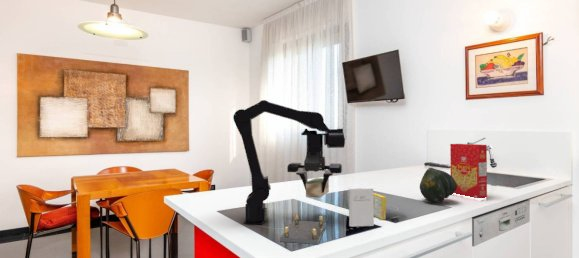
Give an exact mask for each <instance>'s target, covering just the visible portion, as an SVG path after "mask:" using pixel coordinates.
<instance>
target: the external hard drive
mask: <svg viewBox="0 0 579 258" xmlns="http://www.w3.org/2000/svg"><path fill="white" fill-rule="evenodd" d="M373 193H374V188H373V187H358V188H357V187H356V188H353V187H351V188H348V219H349V220H348V226H349V227H352V228H353V227H374V224H375V220H374V219H375V216H374V201H373Z"/></svg>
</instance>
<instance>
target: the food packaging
mask: <svg viewBox="0 0 579 258" xmlns="http://www.w3.org/2000/svg"><path fill="white" fill-rule="evenodd" d="M449 146H450V147H449V148H450V153H449V155H450V175H451V176H452V177H453V178H454V180H455V181H456V184H457V189H456V191H455V192H454V193H456V194H460V195H465V196H470V197H474V198H485V197H487V198H488V178H487V177H488V172H487V171H488V170H487V169H488V166H487V165H488V161H487V159H488V158H487V155H488V154H487V151H488V150H487V148H488V147H487V144H476V143H475V144H472V143H450V144H449Z"/></svg>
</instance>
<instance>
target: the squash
mask: <svg viewBox="0 0 579 258" xmlns="http://www.w3.org/2000/svg"><path fill="white" fill-rule="evenodd" d="M456 189H457V184H456V181H455V180H454V178H453V177H452V176H451V174H449V173H448V172H447V171H444V170H441V169H437V168H434V167H429V168H427V169H426V171H425V172H424V174H423V175H422V178H421V180H420V183H419V190H420V194H421V195H422V197H423V198H425V200H426V201H428V202H431V201H432V203H440V202H443V201H444V200H445V199H447V198H449V197H450V196H453V195H452V194H453V193H454V192H455V191H456Z"/></svg>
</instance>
